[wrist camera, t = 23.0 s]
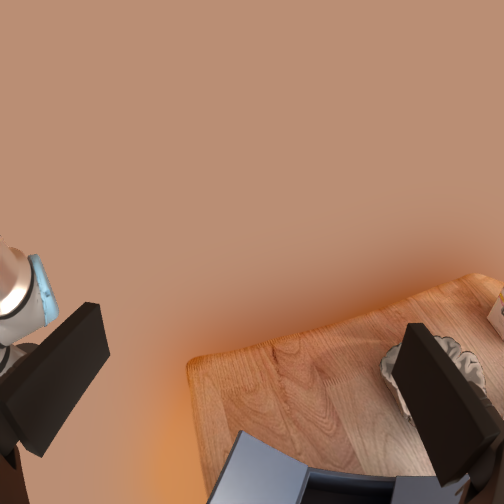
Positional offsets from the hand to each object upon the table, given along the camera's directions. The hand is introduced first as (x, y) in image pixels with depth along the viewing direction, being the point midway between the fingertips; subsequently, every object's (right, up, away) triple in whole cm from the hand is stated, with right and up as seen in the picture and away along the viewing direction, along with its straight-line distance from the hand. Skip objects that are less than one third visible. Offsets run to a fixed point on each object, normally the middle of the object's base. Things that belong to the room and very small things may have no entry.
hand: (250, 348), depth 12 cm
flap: (0, -16, +4) cm, 16 cm away
